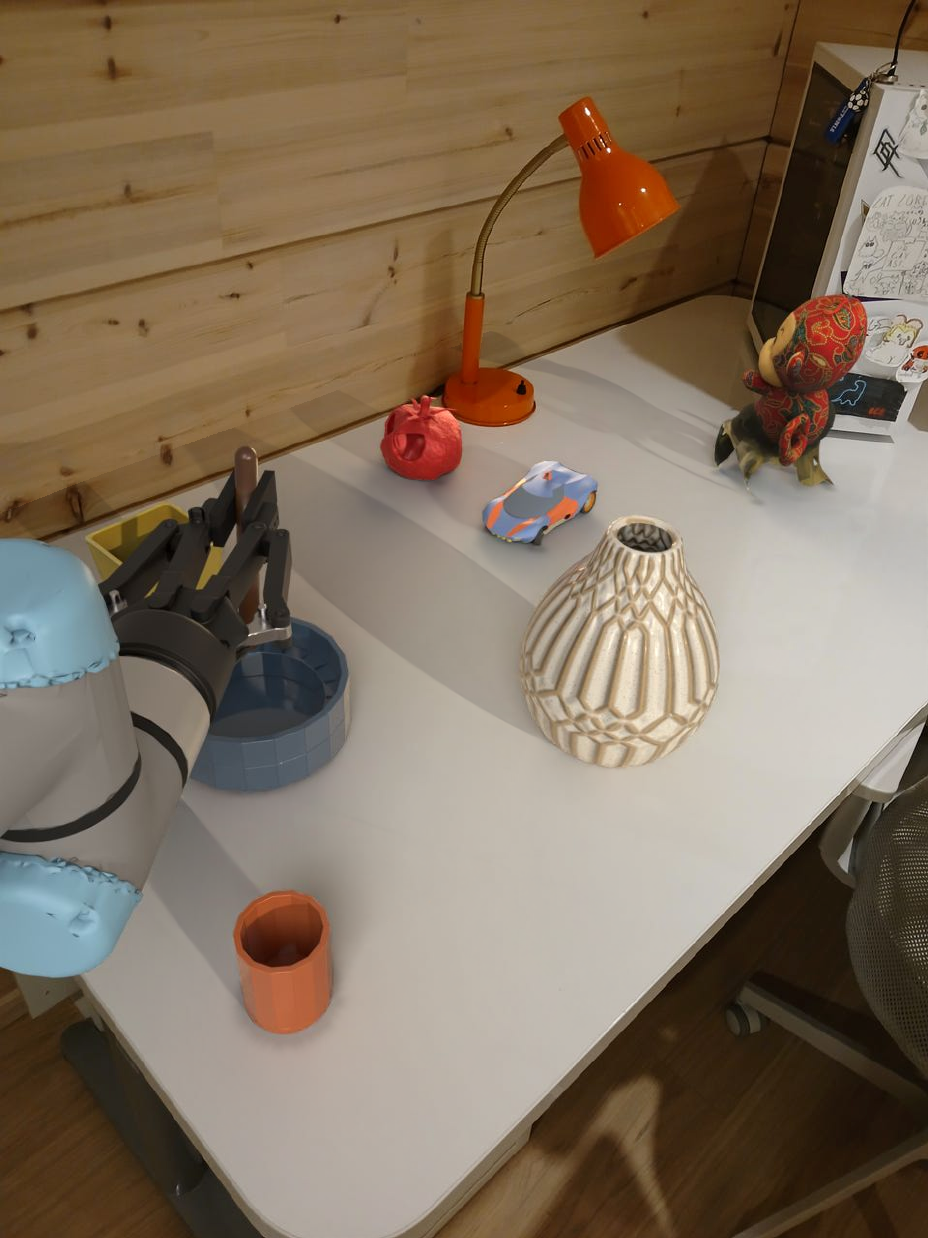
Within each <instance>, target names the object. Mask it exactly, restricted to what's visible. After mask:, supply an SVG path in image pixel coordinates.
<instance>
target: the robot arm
mask: <svg viewBox="0 0 928 1238" xmlns="http://www.w3.org/2000/svg"><path fill="white" fill-rule="evenodd" d="M276 481H277V480H276V471H275V470H270V469H264V471H263V472H262V475H261V476H260V477H259V479H258V486H257V487H256V488H255V490H254V492H253V494H252V496H251V498H250V500H249V502H248V504H247V506H246V508H245V510H244V512H243V514H242V516H241V524H242V533H243V534H242V536H241V538H240V539H239V541H238V542H237V541H236V544H235V545H234V547H233V548H232V550H231V551H230V553H229V555H228V556H227V558H226V560H225V561H224V563H222V567H221V569H220V570H219V572H218V574H217V575H214V574H213V575H211V577H210V578H209V580H208V581H207V583H206V584H205V586H204V588H203V589H197V590H196V588H197V585H198V582H199V580H200V577H201V575H202V572H203V569H204V567H205V564H206V562H207V559H208V556H209V554H210V551H211V545H210V544H211V542H213V547H222V549H224V548H225V547H226V544H227V542H228V540H229V538H230V536H231V534H232V533H233V531H234V528H235V527H236V499H235V467H234V468H233V470H232V471H231V473H230V474H229V477H228V479H227V481H226V482H225V484H224V486H223V487H222V490H221V491H220V493H219V494H218V497H209V498H207V499H206V500H204V501H203V504H202V505H201V506H193V507H191V508H189V509H188V510H187V514H188V516H189V522H188V523H185V524H178V521H177V520H175V519H166V520H163V521H162V522H161V523H160V524H159V525H158V526H157V527H156V528H155V529H154V530H153V531H152V532H151V533H150V534H149V535H148V537H147V538H146V539H145V540H144V541H143V542H142V543H141V544H140V545H139V546H138V547H137V548H136V549H135V550H134V551H133V552H132V553H131V554H130V556H129V557H128V558H127V559H126V560H125V561H124V562H123V563H122V564H121V565H120V566H119V567H118V568H117V569H116V570H115V571H114V572H113V574H112V575H111V576H110V577H109V578H108V579H106V580H105V581H103V580H102V581H101V582H99V583H98V582H97V579H96V577H95V575H94V573H93V571H92V570H91V569H90V568H89V566H88V565H87V563H85V562H84V561H83V560H82V559H81V558H80V557H79V556H78V555H76V554H75V553H73V552H72V551H69V550H67V549H64V548H62V547H59V546H58V545H50V544H48V543H47V542H45V541H43V540H37V539H34V538H33V539H32V538H23V537H22V538H21V537H11V538H10V537H7V538H6V537H5V538H0V968H2V969H5V970H8V971H12V972H14V973H17V974H20V975H26V976H35V977H45V978H53V979H54V978H57V979H58V978H70V977H73V976H74V977H75V976H79V975H83V974H85V973H88V972H90V971H92V970H94V969H96V968H97V967H99V966H100V965H102V964H103V963H104V962H105V961H106V960H107V959H108V958H109V957H110V956H111V954H112V953H113V951H114V950H115V948H116V946H117V944H118V942H119V940H120V938H121V936H122V934H123V932H124V930H125V928H126V926H127V924H128V922H129V921H130V918H131V916H132V915H133V912H134V910H135V908H136V907H138V906H139V905H140V903H141V902H142V900H143V897H144V893H143V890H144V887H145V885H146V882H147V881H148V877H149V875H150V873H151V870H152V868H153V866H154V863H155V860H156V857H157V855H158V853H159V851H160V847H161V846H162V843H163V841H164V838H165V836H166V833H167V832H168V829H169V826H170V823H171V821H172V818H173V817H174V814H175V811H176V809H177V806H178V803H179V801H180V799H181V796H182V794H183V792H184V789H185V786H186V784H187V782H188V780H189V779H190V778H189V775H190V773H191V771H192V768H193V766H194V763H195V761H196V759H197V756H198V754H199V752H200V749H201V747H202V744H203V742H204V740H205V737H206V735H207V732H208V729H209V726H210V724H211V722H212V721H213V719H214V717H215V714H216V712H217V710H218V707H219V705H220V702H221V700H222V698H223V695H224V693H225V690H226V688H227V686H228V683H229V681H230V678H231V675H232V672H233V668H234V666H235V665H236V664H237V663H238V662H239V661H240V660H241V659H243V658H244V657H245V656H246V655H247V654H248V653H249V651H250V647H251V646H253V645H257V644H261V643H266V642H270V641H271V642H272V644H273V646H274V647H275V648H277V649H287V648H289V647H290V646H291V645H292V631H291V620H290V616H291V611H290V609H289V606H288V600H289V592H290V583H291V575H292V565H293V559H292V558H293V556H292V546H291V532H290V531H289V530H288V529H286V528H279V526H280V515H279V514H280V513H279V505H278V494H277V483H276ZM264 565H266V567H265V576H264V583H263V589H262V598H263V600H262V601H263V603H260V605H259V606H258V612H256V613H255V614H254V619H253V621H252V622H251V623H249V624H247V625H246V623H245V622H244V620H243V619H242V617H241V616H240V614H239V612H238V607H239V606H240V604H241V602H242V601H243V599H244V597H245V595H246V594H247V592H248V590H249V589H250V587H251V585H252V583H253V582H254V580H255V578H256V576H257V575H258V573H259V574H260V571H261V570H262V569H263V566H264ZM158 581H159V582H158ZM157 583H158V584H157ZM156 584H157V586H156V589H155V591H154V592H152V593H151V595H149V596H147V597H146V598H144V597H145V596H146V595H147V594H148V593H149V592H150V591H151V589H152V588H153V587H154V586H155V585H156Z"/></svg>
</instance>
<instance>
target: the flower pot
mask: <svg viewBox="0 0 928 1238" xmlns="http://www.w3.org/2000/svg"><path fill="white" fill-rule="evenodd" d="M166 519H175V520H177V521H178V524H185V523H188V522H189V516H188V512H186V511H185V510H183V509H182V508H180V507H179V506H178V505H176V504H174V503H173V502H170V501H167V500H166V501H165V500H164V501H162V502H160V503H157V504H155V505H152V506H151V507H149V508H147V509H144V510H142V511H139V512H137V513H136V514H133V515H132V516H129V517H127V518H124V519H121V520H119V521H117V522H114V523H112V524H109V525H107V526H103V527H102V528H100V529H97V530H95V531H93V532H91V533H89V534H87V535H86V536H84V539H85V542H86V545H87V547H88V549H89V552H90V554H91V556H92V559H93V562H94V564H95V567H96V569H97V571H98V573H99V576H100V578H101V580H102V582H103V581H105V580H106V579H108V578H109V577H110V576H111V575H112V574H113V572H114V571H115V570H116V569H117V568H118V567H119V566H120V565H121V564H122V563H123V562H124V561H125V560H126V559H127V558H128V557H129V556H130V554H131V553H132V552H133V551H134V550H135V549H136V548H137V547H138V546H139V545H140V544H141V543H142V542H143V541H144V540H145V539H146V538H147V537H148V535H149V534H150V533H151V532H152V531H153V530H154V529H155V528H156V527H157V526H158V525H159V524H160V523H161V522H162V521H163V520H166ZM210 545H211V551H210V554H209V556H208V559H207V562H206V564H205V567H204V569H203V572H202V575H201V577H200V580H199V582H198V585H197V588H196V590H197V589H203V588H204V586H205V584H206V583H207V581H208V580H209V578H210V577H211V575H213V574H214V575H217V574H218V572H219V570H220V569H221V567H222V566H223V548H222V547H213V542H211V544H210ZM158 582H159V581H158ZM157 584H158V583H157ZM157 584H156V585H155V586H154V587H153V588H152V589H151V591H150V592H149V593H148V594H147V595H146V596H145V597H144V598H146V597H147V596H149V595H151V593H152V592H154V591H155V589H156V586H157Z"/></svg>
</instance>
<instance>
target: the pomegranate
mask: <svg viewBox="0 0 928 1238" xmlns="http://www.w3.org/2000/svg"><path fill="white" fill-rule="evenodd" d="M436 399H437V397H432V396H430V397H429V396H427V395H425V394H423V395H422V396H421V397H420V399H419V401H420V402H419V403H420V404H419V403H418V402H417V400H416V399H415V398H406V400H407V401H411V403H412V404H410V403H409V404H407V403H406V404H403V405H400V406H394V407H391V409H393V411H391V413H390V414H389V415H388V417H387V419H386V420H385V422H384V433H383V439H382V440H381V441H380V443H379V444H380V445H379V448H380V451H381V455H382V457H383V459H384V462H385V463H386V465H387V466H388V467H389V468H390V469H391V470H392V471H394V472H395V473H397V474H398V475H400V476H401V477H404V478H406V479H409V480H418V481H435V480H437V479H438V478H439V477H441V476H442V475H445V474H449V473H451V472H453V471H454V470H456V468H458V466H459V465H460V464H461V460H462V457H463V437H462V429H461V426H460V425H461V424H460V423H459V422H458V420H457V419H456V418H455V417H454V416H453V414H452V412H456V411H458V410H459V408H457V409H456V408H455V409H454V408H449V407H448V408H444V407H441V406H431V404H432V403H433V400H436Z"/></svg>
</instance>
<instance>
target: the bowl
mask: <svg viewBox="0 0 928 1238" xmlns="http://www.w3.org/2000/svg"><path fill="white" fill-rule="evenodd" d="M290 620H291V631H292V645H291V646H290V647H289V648H287V649H277V648H275V647H274V646H273V644H272V642H271V641H270V642H266V643H261V644H259V645H258V647H257V648H255V649H253V650H250V651H249V653H248V654H247V655H246V656H245V657H244V658H243V659H241V660H240V661H239V662H238V663H237V664H236V665H235V666H234V668H233V672H232V675H231V678H230V681H229V683H228V686H227V688H226V690H225V693H224V695H223V698H222V700H221V702H220V705H219V707H218V710H217V712H216V714H215V717H214V719H213V721H212V722H211V724H210V726H209V729H208V732H207V735H206V737H205V740H204V742H203V744H202V747H201V749H200V752H199V754H198V756H197V759H196V761H195V763H194V766H193V768H192V771H191V773H190V775H189V778H188V779H190V780H193V781H195V782H197V783H199V784H202V785H205V786H208V787H209V788H213V789H216V790H223V791H229V792H230V791H231V792H241V793H254V792H261V791H268V790H269V791H270V790H278V789H281V788H283V787H286V786H289V785H291V784H293V783H296V782H299V781H301V780H304V779H307V778H308V777H310V776H312V775H313V774H314V773H316V772H317V771H319V770H320V769H322V768H323V767H324V766H325V765H327V764H328V763H330V761H332V760H333V759H334V757H335V755H337V753H338V751H339V750H340V749H341V748H342V746H343V745H344V743H345V742H346V739H347V735H348V732H349V727H350V724H351V686H350V685H351V684H350V670H349V664H348V660H347V659H348V658H347V655H346V652H345V651H344V649H343V648H342V647H341V646H340V644H339V642H338V641H336V639H335V637H333V635H331V634H329V632H327V631H325V630H324V629H323V628H321V627H319V626H318V625H316V624H314V623H312V622H309V621H306V620H302V619H300V618H296V617H294V616H291V615H290Z"/></svg>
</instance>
